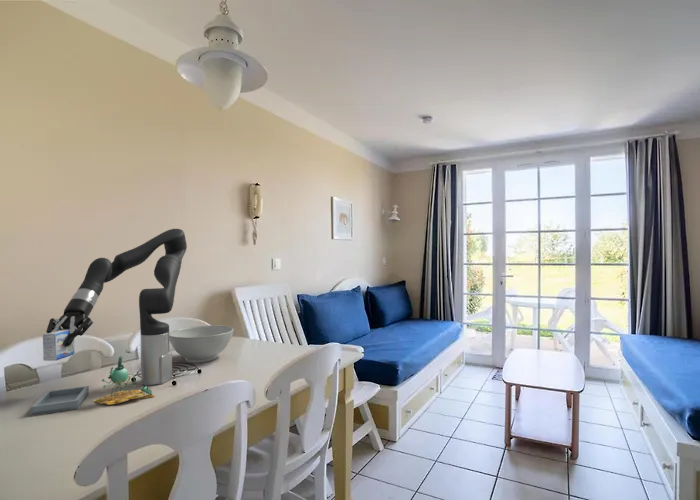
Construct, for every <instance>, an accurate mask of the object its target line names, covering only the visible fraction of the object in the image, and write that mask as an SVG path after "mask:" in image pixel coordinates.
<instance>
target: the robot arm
mask: <svg viewBox="0 0 700 500" xmlns="http://www.w3.org/2000/svg"><path fill="white" fill-rule="evenodd" d="M162 245H163V246H164V247H163V248H164V252H165V255H162V256H161V257H159V258H158V260H157V261H156V264H155V265H154V266H155V267H154V270H153V275H154V277H155V279H156V281H157V282H158V283H159V284H160V285H161V286H162V287H160V288H158V287H157V288H144V289H141V291H140V293H139V296H138V308H139V309H138V310H139V326H140V327H139V328H140V384H142V385H144V383H145V386H151V385H152V386H153V385H158V384H159V385H160V384H162V385H163V384H164V383H166V382H168V381H170V380H172V379H173V353H172V351H171V352H170V341H169V333H170V325H169V323H167V322H163V321H160V320H158V319H156V318H154V317H153V315H162V314H164V315H165V314H168V313H170V312H171V311H172V309H173V307H174V303H175V295H176V294H175V293H176V287H177V282H178V280H179V275H180V272H181V269H182V268H181V267H182V261H183V259H184V256H185V254H186V251H187V247H188V246H187V240H186V236H185V231H184V230H183V229H181V228H171V229H167V230H165V231H163V232H161V233H160V234H158V235H156V236H154V237H152V238H150V239H149V240H147V241H145V242H144V243H142V244H141V245H138V246H136V247H133V248H132V249H128V250H126V251H123V252H121V253H119V254H117V255H115V256H114V259H113V261H111V260H110V259H108V258H106V257H98V258H95V259H94V260H93V261H92V262H91V263H90V264H89V266H88V268H87V271H86V274H85V275H84V278H83V281H82V282H81V284H80V286H79V287H78V289H77V290H76V292H75V293H74V294H73V295H72V297H71V299H70V300H69V301H68V303H67V304H66V306H65V308H64V310H63V314H62V315H61V316H60V317H59V318H56V319H55V318H50V319H49V322H48V325H47V327H46V330H45V331H46V332H45V333H46V334H47V333H51V332H55V331H59V330H64V329H70V334H68V335H67V337H66V339H65V341H64V342H63V345H64V346H65V347H69V345H71V343H72V342H73V340H74V341H75V339H76V338H77V337H78V336H81V337H82V336H83V335H84V334H85V333H86V332H87V331H88V330H89V328H90V327H91V326H92V325H93V324H94V321H93V320H92V319H91V317H89V316H90V315H91V313H92V312H93V311H92V310H93V309H94V307H95V306H96V303H97V302H98V299H99V297H100V295H101V293H102V292H103V289H104V284H105V283H109V282H111V281H113V280H115V279H116V278H117V277H119V276H120V275H122V274H123V273H124V272H126V271H127V270H130V269H133V268H135V267H137V266H139V265H141V264H143V263H144V262H146V261H147V260H148V258H149V257H151V256H152V254H153V253H154V252H155V251H156V250H157V249H158V248H160V247H161V246H162Z"/></svg>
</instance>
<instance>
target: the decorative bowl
mask: <svg viewBox="0 0 700 500" xmlns="http://www.w3.org/2000/svg"><path fill="white" fill-rule="evenodd" d="M233 335H234V327H232V326H229V325H219V324H218V325H217V324H216V325H215V324H213V325H199V326H198V325H197V326H190V327H184V328H183V327H182V328H178V329H175V330H171V331H169V344H170V345H171V347H172V348H173V349H174V351H175V352H176V353H177V354H178V355H180V356H181V357H182V358H185V360H186V361H187V362H188V363H205V362H209V361H213V360H216V358H218V355H219V354H221V353H222V352H223V351H224V350H225V349H227V346H228V344H229V343H230V342H231V340H232V337H233Z"/></svg>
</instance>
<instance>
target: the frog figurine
mask: <svg viewBox="0 0 700 500" xmlns="http://www.w3.org/2000/svg"><path fill="white" fill-rule="evenodd" d="M122 361H123V356H121V355H120V356H119V357H118V361H117V367H115V368H114V367H113V366H112V367H111V368H110V371H109V375H108V376H107V379H109V380H110V381H109V382H108V381H106V380H105V378H103V379H102V380H101V382H102V383H103V382H104V383H106V384H109V385H106V384H104V385H103V386H102V387H103V389H105V388H106V387H110V386H113V388H112V390H111V392H108V393H107V394H108V395H105V396H103V397H99V398H97V399H95V400H93V403H98V404H99V405H102V404H103V405H104V404H106V405H108V406H109V405H115V404H116V405H117V404H120V403H121V404H122V403H123V402H127V401H130V400H134V399H139V400H143V399H151V398H155V397H156V396H155V395H154V393H153V391H152V389H150V388H149V387H148V386H147V385H145V383H144V384H143V386H142V387H141V389H136V390H135V389H131V390H129V389H128V388H130V387H131V386H133V387H136V385H135V384H129V386H128V383H129V381H130V379H131V377H130V376H129V371H128V369H126V368H125V366H124V364H122ZM132 377H133V381H132V382H133V383H136V380H135V375H134V374H132ZM110 383H112V384H110ZM123 383H124V386H127V387H124V386H123V385H122V384H123ZM115 386H116V388H115ZM121 387H122V388H123V389H121ZM114 388H115V392H113V391H114ZM118 388H119V389H118ZM117 389H118V390H119V391H117Z"/></svg>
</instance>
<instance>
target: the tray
mask: <svg viewBox="0 0 700 500" xmlns="http://www.w3.org/2000/svg"><path fill="white" fill-rule="evenodd" d="M89 394H90V386H89V385H85V386H78V387H70V388H61V389H60V388H59V389H53V390H52V389H51V390H47V391H46V392H45V393H44V394H43V395H41V397H40V398H39V399H38V400H37V401H36V402H35V403H33V405H32V406H31V416H32V417H33V416H39V415H45V414H52V413H59V412H66V411H72V410H79V409H80V407H81V405H82V404H83V403H84V401H85V400H86V398H87V397H88V396H89Z"/></svg>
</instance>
